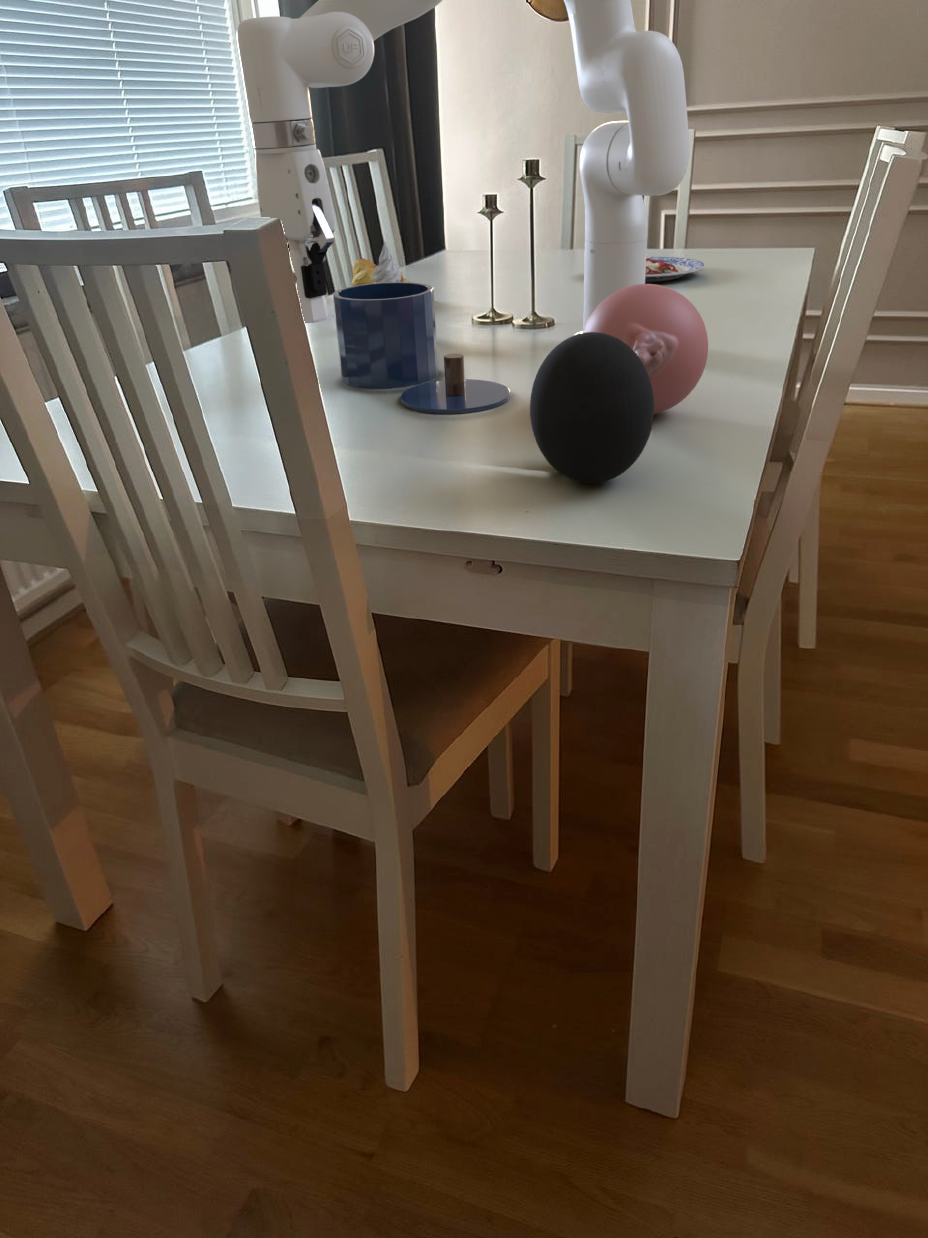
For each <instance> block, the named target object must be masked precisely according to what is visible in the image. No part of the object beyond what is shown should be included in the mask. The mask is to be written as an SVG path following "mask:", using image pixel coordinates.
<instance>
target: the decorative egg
mask: <svg viewBox="0 0 928 1238" xmlns="http://www.w3.org/2000/svg"><path fill="white" fill-rule="evenodd" d="M529 400H530V401H529V416H530V418H529V419H530V424H531V430H532V433H533V437H534V439H535V443H536V444H537V447H538V449H539V451H540V452H541V454H542V455H543V457H544V458H545V460H546V461H547V463H548V464H549V465H550V466H551V467H552V468H553V469H554V470H555V471H557V473H559V474H560V475H562V476H563V477H565V478H567V479H570V480H571V481H575V482H577V483H583V484H600V483H605V482H608V481H611V480H613V479H615V478H617V477H619V476H621V475H623V474H624V473H625V472H626V471H627V470H629V469H630V468H631V467H632V466H633V465H634V464H635V463H636V461H637V460H639V458H640V456H641V455H642V453H643V451H644V450H645V447H646V446H647V443H648V441H649V438H650V435H651V433H652V429H653V424H654V417H655V414H654V396H653V390H652V385H651V382H650V378H649V376H648V373H647V371H646V368H645V366H644V365H643V363H642V361H641V360H640V358H639V357H638V355H637V354H636V353H635V352H634V351H633V350H632V349H631V348H630V347H629V346H628V345H627V344H625V343H624V342H623V341H621V340H620V339H618V338H616V337H614V336H611V335H608V334H604V333H600V332H586V333H581V334H577V335H575V334H573V335H572V336H569V337H567V338H566V339H564V340H562V341H561V342H560V343H558V344H557V345H556V346H555V347H554V348H552V350H551V351H550V352H549V353H548V354H547V356H546V357H545V358H544V359H543V361H542V363H541V364H540V367H539V368H538V370H537V372H536V374H535V378H534V380H533V384H532V388H531V393H530V399H529Z"/></svg>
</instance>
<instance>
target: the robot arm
mask: <svg viewBox="0 0 928 1238" xmlns="http://www.w3.org/2000/svg"><path fill="white" fill-rule="evenodd" d="M443 1H444V0H317V1H316V2H315V3H314V4H313V5H311V7H309V8H308V9H307V10H306V11H305V12H304V13H303V14H302V15H301V16H299V17H298V18H291V17H289V16H277V15H276V16H260V17H252V18H247V19H244V20H242V21H240V23H239V24H238V25H237V27H236V34H235V35H236V44H237V50H238V56H239V63H240V69H241V76H242V82H243V88H244V96H245V100H246V108H247V114H248V121H249V126H250V132H251V138H252V145H253V151H254V156H255V157H254V158H255V160H254V161H255V178H256V180H255V181H256V192H257V199H258V200H257V201H258V208H259V214H260V218H261V217H270V218H278V219H280V220H281V221H282V224H283V228H284V232H285V236H286V238H287V243H288V239H296V240H298V242H299V246H300V251H301V255H302V259H303V263H304V265H303V266H301V273H302V280H303V287H304V294H305V297H306V298H309V299H310V298H315V297H319V296H323V295H325V296H326V295H327V293H328V288H327V281H326V274H325V266H324V265H325V264H324V263H326V259H327V258H326V255H327V253H328V250H329V248H330V247H332V245H333V244H334V243H335V236H334V233H335V231H336V221H335V214H334V207H333V201H332V196H331V195H332V194H331V190H330V186H329V180H328V176H327V172H326V167H325V164H324V160H323V157H322V154H321V151H320V149H319V148H317V144H316V135H315V129H314V121H313V113H312V112H313V111H312V105H311V104H312V103H311V96H310V89H309V88H311V89H323V88H336V87H338V88H339V87H345V86H350V85H352V84H355V83H357V82H358V81H360V80H361V79H363V78H364V77H365V76H366V75H367V73H368V72H369V71H370V69H371V68H372V64H373V62H374V57H375V44H374V41H376V40H377V39H379V38H381V37H382V36H383V35H385V34H386V33H388V32H390V31H391V30H393V29H395V28H398V27H399V26H402V25H404V24H407V23H408V22H412V21H413V20H416V19H418V18H420V17H421V16H423V15H425V14H427V13H428V12H430V11H431V10H433V9H434V8H436V7H437V6H438V5H440V3H442V2H443ZM631 1H632V0H563V2H564V5H565V9H566V12H567V17H568V22H569V27H570V33H571V40H572V47H573V55H574V62H575V70H576V77H577V84H578V88H579V94H580V97H581V99H582V102H583V103H584V105H585V106H586V107H587V108H588V109H590V111H593V112H595V113H602V114H626V116H627V120H618V121H617V120H616V121H609V122H606V123H603V124H601V125H599V126H597V127H595V128H594V129H593V130H592V131H591V132H590V133H589V134H588V135H587V136H586V138H585V139H584V142H583V143H582V147H581V150H580V153H579V174H580V180H581V181H580V182H581V188H582V195H583V202H584V204H583V206H584V254H583V255H584V256H583V257H584V265H583V312H582V314H583V317H582V318H583V319H582V330H581V331H579V332H576V333H575V334H574V335H577V334H581V333H582V332H583V329H584V327H585V324H586V322H587V320H588V319H589V317H590V315H591V314H592V312H593V311H594V310H595V309H596V307H597V306H598V305H599V304H600V303H601V302H602V301H603V300H605V299H606V298H607V297H609V296H610V295H612V294H613V293H615V292H617V291H619V290H621V289H623V288H626V287H629V286H633V285H638V284H646V282H645V273H646V257H647V253H648V251H647V250H648V232H649V221H648V213H647V209H646V208H647V207H646V203H645V201H644V198H643V196H644V197H659V196H664V195H668V194H669V193H671V192H674V190H676V189H677V188H678V186H679V185H681V183H682V181H683V179H684V177H685V175H686V173H687V170H688V165H689V159H690V132H689V121H688V120H689V119H688V108H687V107H688V106H687V95H686V82H685V71H684V67H683V62H682V59H681V55H680V53H679V51H678V49H677V47H676V45H675V44H674V42H673V41H672V40H671V39H670V38H669V37H668V36H667V35H665V34H663V33H661V32H659V31H655V30H639V31H637V29H636V26H635V20H634V12H633V7H632V2H631ZM308 243H309V244H311V243H312V244H311V246H310V245H309V246H308ZM288 248H289V244H288ZM309 249H310V251H309ZM289 251H290V249H289Z"/></svg>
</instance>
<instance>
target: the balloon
mask: <svg viewBox="0 0 928 1238" xmlns="http://www.w3.org/2000/svg"><path fill="white" fill-rule="evenodd" d="M582 331H583V332H582V333H586V332H600V333H604V334H608V335H611V336H614V337H616V338H618V339H620V340H621V341H623V342H624V343H625V344H627V345H628V346H629V347H630V348H631V349H632V350H633V351H634V352H635V353H636V354H637V355H638V357H639V358H640V360H641V361H642V363H643V365H644V366H645V368H646V371H647V373H648V376H649V378H650V382H651V385H652V390H653V396H654V415H657V414H661V413H663V412H666V411H668V410H670V409H672V408H674V407H676V406H677V405H678V404H680V403H681V402H682V401H683V400H685V399H686V398H687V397H688V396H689V395H690V394H691V393H692V392H693V391H694V389H695V388H696V386H697V385H698V383H699V382H700V380H701V378H702V377H703V374H704V371H705V368H706V365H707V360H708V357H709V356H708V355H709V354H708V353H709V337H708V332H707V327H706V325H705V322H704V320H703V317H702V316H701V313H700V311H698V309H697V307H695V305H694V304H693V303H692V301H690V300H689V299H688V298H687V297H686V296H685V295H683V294H682V293H680V292H678V291H677V290H675V289H673V288H670V287H669V286H668V287H667V286H665V285H660V284H656V283H655V284H654V283H645V284H638V285H633V286H629V287H626V288H623V289H621V290H619V291H617V292H615V293H613V294H612V295H610V296H609V297H607V298H606V299H605V300H603V301H602V302H601V303H600V304H599V305H598V306H597V307H596V309H595V310H594V311H593V312H592V314H591V315H590V317H589V319H588V320H587V322H586V324H585V327H584V329H583V328H582Z"/></svg>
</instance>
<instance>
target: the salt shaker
mask: <svg viewBox="0 0 928 1238" xmlns="http://www.w3.org/2000/svg"><path fill="white" fill-rule="evenodd" d="M288 244H289V249H290V251H289V252H290V257H291V261H292V265H293V268H294V271H295V275H296V277H297V290H298V295H299V298H300V303H301V309H302V314H303V317H304V321H305V323H304V324H314V323H320V322H323V321H326V320H328V318H329V317H330V313H329V308H328V304H327V300H326V295H323V296H319V297H315V298H310V299H309V298H306V297H305V294H304V287H303V280H302V273H301V266H303V265H304V263H303V259H302V255H301V251H300V246H299V242H298V240H296V239H288ZM308 246H309V247H310V243H308ZM309 251H310V248H309Z"/></svg>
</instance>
